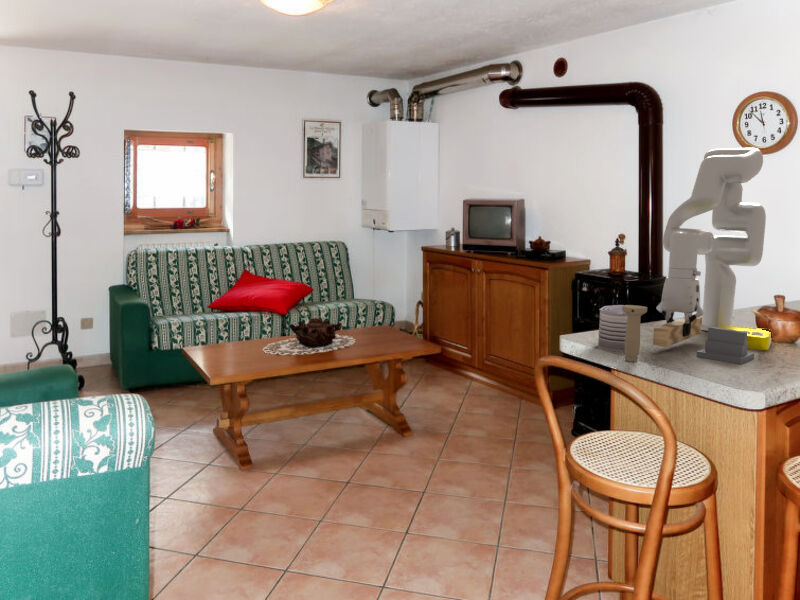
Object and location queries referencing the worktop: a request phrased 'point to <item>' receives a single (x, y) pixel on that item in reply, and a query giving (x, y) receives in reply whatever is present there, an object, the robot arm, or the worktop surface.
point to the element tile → (754, 336)
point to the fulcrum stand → (726, 346)
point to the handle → (633, 331)
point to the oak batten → (675, 332)
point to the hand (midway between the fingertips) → (678, 333)
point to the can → (612, 328)
